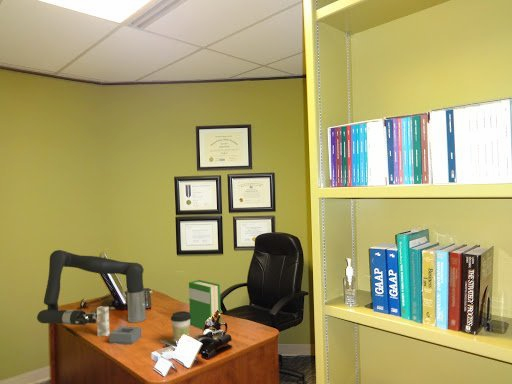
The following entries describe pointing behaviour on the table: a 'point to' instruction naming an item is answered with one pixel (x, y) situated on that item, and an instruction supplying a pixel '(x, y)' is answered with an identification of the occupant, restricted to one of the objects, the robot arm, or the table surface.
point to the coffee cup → (180, 324)
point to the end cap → (125, 335)
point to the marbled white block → (103, 321)
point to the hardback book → (203, 302)
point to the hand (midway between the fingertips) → (100, 318)
